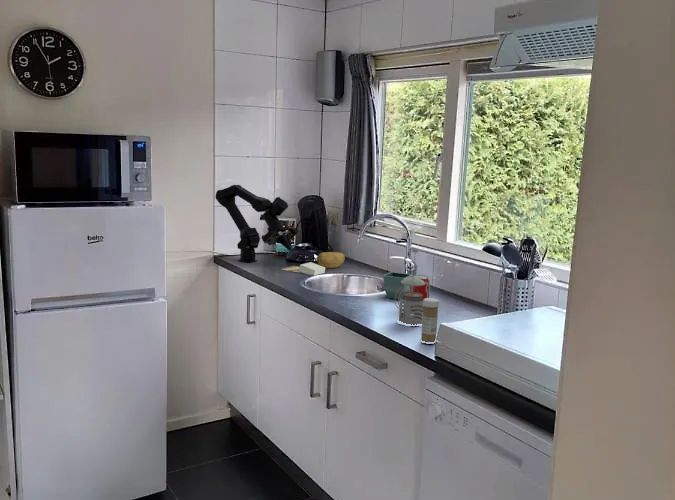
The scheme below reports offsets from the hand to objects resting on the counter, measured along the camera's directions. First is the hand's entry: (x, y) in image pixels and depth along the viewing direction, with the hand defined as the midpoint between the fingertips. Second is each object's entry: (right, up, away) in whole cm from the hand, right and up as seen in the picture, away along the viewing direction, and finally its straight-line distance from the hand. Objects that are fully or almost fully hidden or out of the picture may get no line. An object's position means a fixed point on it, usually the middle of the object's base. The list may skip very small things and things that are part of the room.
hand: (290, 250), depth 279 cm
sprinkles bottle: (+48, -28, -92) cm, 108 cm away
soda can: (+50, -21, -55) cm, 77 cm away
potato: (+18, -9, +8) cm, 22 cm away
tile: (+7, -7, -4) cm, 10 cm away
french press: (+44, -24, -73) cm, 88 cm away
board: (+3, -9, 0) cm, 10 cm away
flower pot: (+43, -18, -39) cm, 61 cm away
